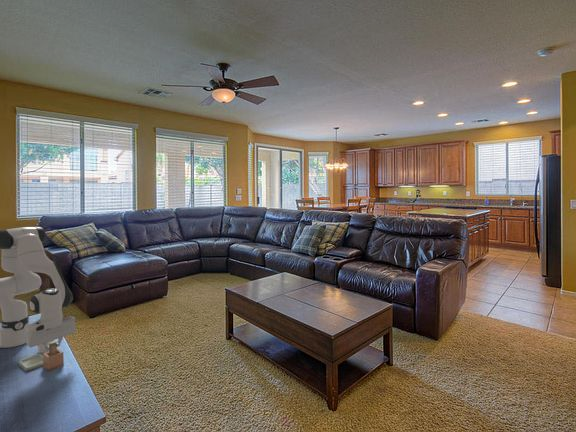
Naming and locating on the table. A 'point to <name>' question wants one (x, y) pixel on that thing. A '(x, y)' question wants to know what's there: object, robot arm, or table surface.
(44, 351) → the foam cup
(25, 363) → the tray
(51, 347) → the dowel
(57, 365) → the brown hollow block
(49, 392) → the table surface
